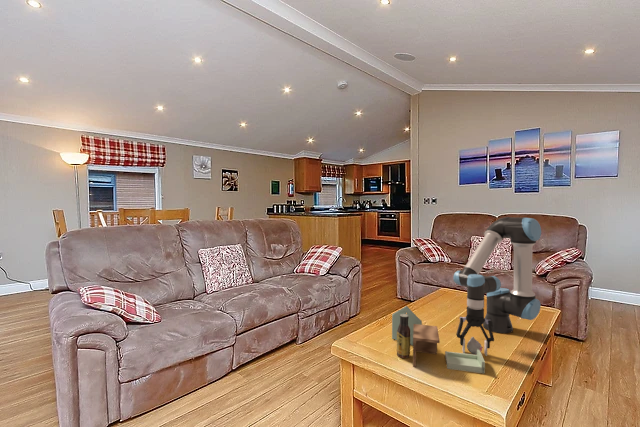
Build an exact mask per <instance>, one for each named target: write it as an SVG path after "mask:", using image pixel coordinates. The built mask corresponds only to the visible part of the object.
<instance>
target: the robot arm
mask: <svg viewBox="0 0 640 427" xmlns="http://www.w3.org/2000/svg"><path fill="white" fill-rule="evenodd" d="M483 235H484V237H482V239H481V241H480V243H479V244H478V245H477V248H476V249H475V251H474V252H473V254H471V256H470V258H469V260H468V261H467V262H466V264H465V266H464V268H463V269H462V270H457V271H455V272H454V273H453V283H455V284H456V285H458V286H461V287H466V289H467V290H466V294H467V296H466V316H459V323H458V326H457V331H456V337H457V338H458V339H459V341H460V342H459V344H460V346H462V347H461V348H462V349H461V350H462V351H461V352H462V353H465V354H466V351H465V350H466V339H465V337H466V335H467V333H469V332H468V331H470V329H471V328H472V327H473V328H474V327H476V328H480V330H481V333H482V334H483V337H484V338H485V339H484V351H483V352H484V355H485V356H486V357H487V356H488V349H490V346H491V343H492V342H494V341H495V337H494V333H496V334H497V333H498V334H509V333H513V331H514V330H513V329H514V328H513V324H512V320H511V317H510V315H511V316H514V317H517V318H520V319H523V320H524V319H525V320H528V321H533V320H535V319H536V318H537V316H538V315H539V313H540V311H541V306H542V305H541V304H542V303H541V301H540V300H539V299H538V298H536V293H535V292H534V291H533V247H534V246H535V245H536V244H537V241H539V240H540V239H541V236H542V228H541V225H540V222H539V221H538V220H537V219H535V218H531V217H518V216H517V217H514V216H512V217H511V216H504V217H501V218H498V219H496V220H495V221H493V222H492V223H491V224H490V225H489V226H488V227H487V228H486V230H485V231H484V233H483ZM504 239H510V244H511V245H512V246H513V289H511V290H510V289H509V288H504V287H502V283H501V280H500V278H499V277H497V276H495V275H489V276H487V275H482V274H480V272H481V271H482V270H483V268H484V266H485V264H486V263H487V261H488V259H489V258H490V256H491V255H492V254H493V253H494V250H495V249H496V247H497V246H498V244H499V243H502V241H503V240H504ZM485 294H486V313H485V309H484V308H485ZM465 321H467V323H466V326H465V327H464V329H463V326H464V323H465ZM462 329H463V331H462ZM485 330H487V331H488V333H489V335H488V334H487V332H486V331H485Z"/></svg>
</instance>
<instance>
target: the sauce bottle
mask: <svg viewBox="0 0 640 427" xmlns="http://www.w3.org/2000/svg"><path fill="white" fill-rule="evenodd" d="M408 319H409V316H408V315H407V313H406V314H400V324H399V327H398V330H397V341H396V355H397V357H399V358H400V359H407V358H409V357H410V356H411V355H410V354H411V345H410V328H409V326H408Z"/></svg>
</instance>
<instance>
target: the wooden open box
mask: <svg viewBox="0 0 640 427" xmlns="http://www.w3.org/2000/svg"><path fill="white" fill-rule="evenodd" d="M440 342H441V341H440V335H439V331H438V326H437V325H429V324H428V325H427V324H426V325H425V324H422V325H419V324H414V326H413V346H412V368H416V367H417V353H423V354H424V353H425V354H431V355H432V354H433V355H438V344H440Z"/></svg>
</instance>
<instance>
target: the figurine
mask: <svg viewBox="0 0 640 427" xmlns="http://www.w3.org/2000/svg"><path fill="white" fill-rule="evenodd" d="M466 348H467V351H468V352H469V354H473V355H477V350H480V352H481V353H482V350H483V346H482V344H481V343H480V342H479V341H478V339H476V338H475V336H471V338H470V339H469V341H468V342H467V343H466Z"/></svg>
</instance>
